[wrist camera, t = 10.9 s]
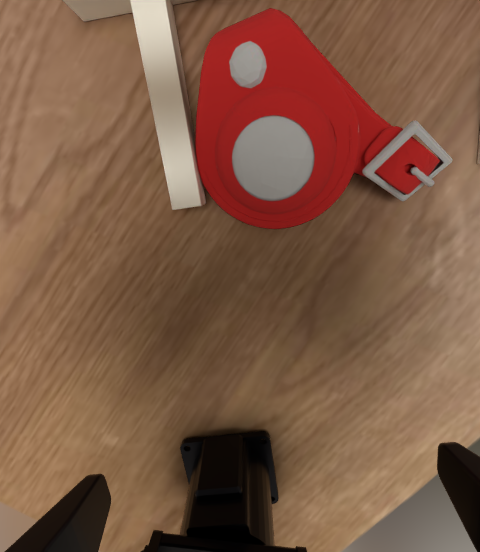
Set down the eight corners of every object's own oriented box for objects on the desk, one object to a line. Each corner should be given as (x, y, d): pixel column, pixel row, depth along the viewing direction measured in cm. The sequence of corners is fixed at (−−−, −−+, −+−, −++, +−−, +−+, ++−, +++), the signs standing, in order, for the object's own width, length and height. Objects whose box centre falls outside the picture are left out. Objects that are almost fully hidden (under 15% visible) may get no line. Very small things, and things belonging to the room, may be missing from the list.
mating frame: (584, 148, 16) (656, 140, 13) (130, 214, 18) (108, 220, 15) (637, -172, 13) (751, -276, 10) (65, -55, 14) (19, -115, 11)
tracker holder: (222, 257, 18) (139, 55, 13) (236, 225, 21) (175, 58, 16) (469, 205, 14) (486, -113, 9) (434, 176, 17) (433, -61, 13)
